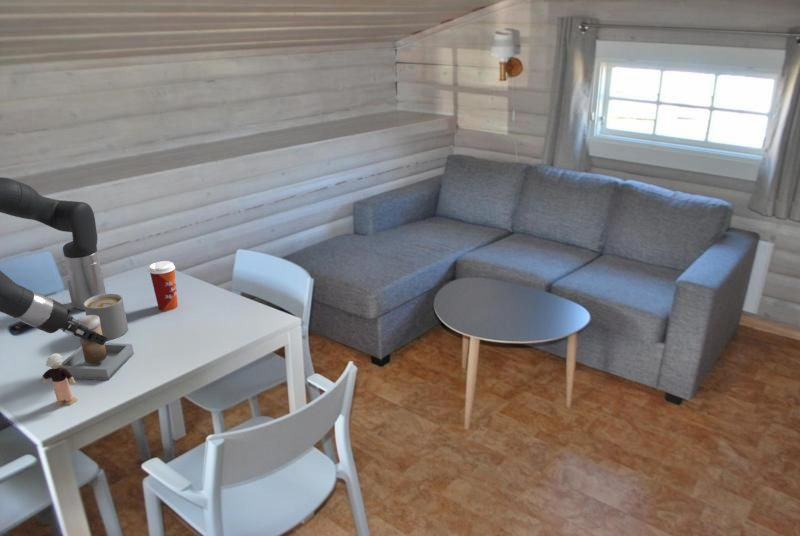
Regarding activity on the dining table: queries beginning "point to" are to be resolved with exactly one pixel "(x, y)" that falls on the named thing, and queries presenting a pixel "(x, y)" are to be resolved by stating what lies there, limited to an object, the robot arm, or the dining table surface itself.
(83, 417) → the dining table surface
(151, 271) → the paper cup
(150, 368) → the dining table surface
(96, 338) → the robot arm
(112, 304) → the coffee mug
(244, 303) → the dining table surface
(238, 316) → the dining table surface
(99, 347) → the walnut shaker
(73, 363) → the stoneware tray
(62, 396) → the grandmother figurine
